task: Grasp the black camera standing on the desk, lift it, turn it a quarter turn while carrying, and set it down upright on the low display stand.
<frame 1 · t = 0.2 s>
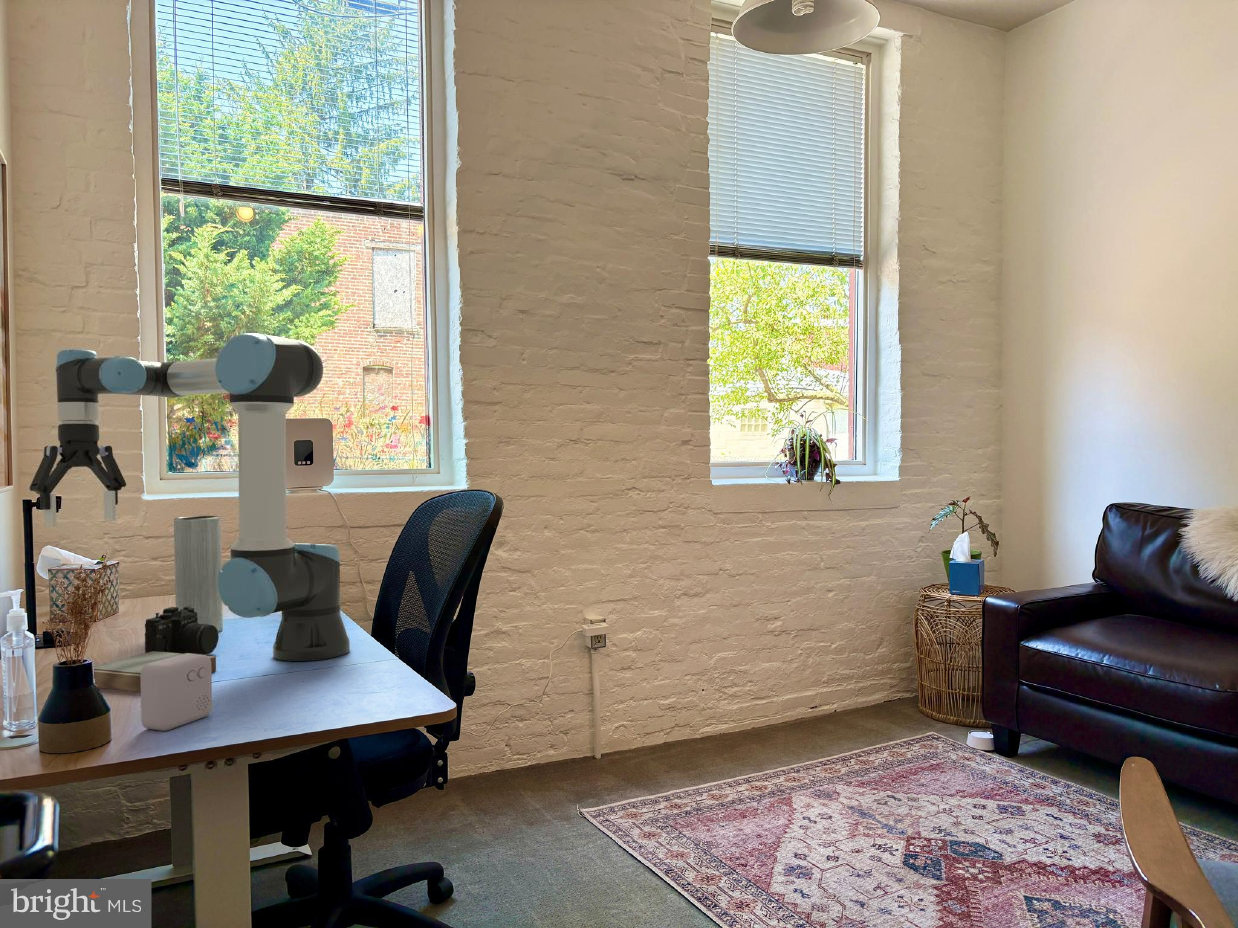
hand: (81, 523, 192), 28 cm above the table, fingers open, 13 cm apart
electronic device: (180, 724, 141), on the table
stand: (150, 677, 169), on the table
camera: (184, 657, 187), on the table
vase: (199, 632, 212), on the table
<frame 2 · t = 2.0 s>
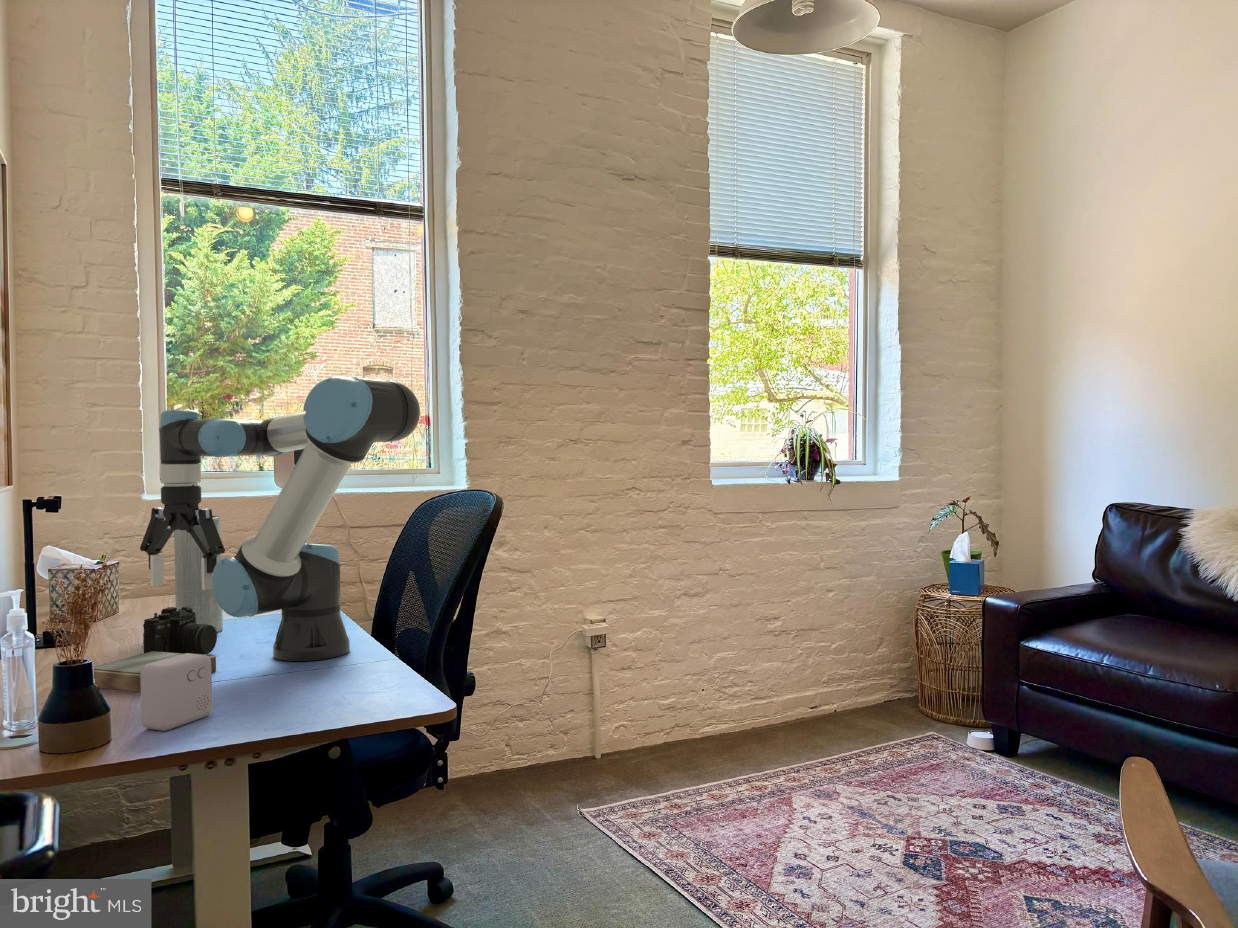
hand: (182, 587, 187), 14 cm above the table, fingers open, 13 cm apart
nothing on the table moved.
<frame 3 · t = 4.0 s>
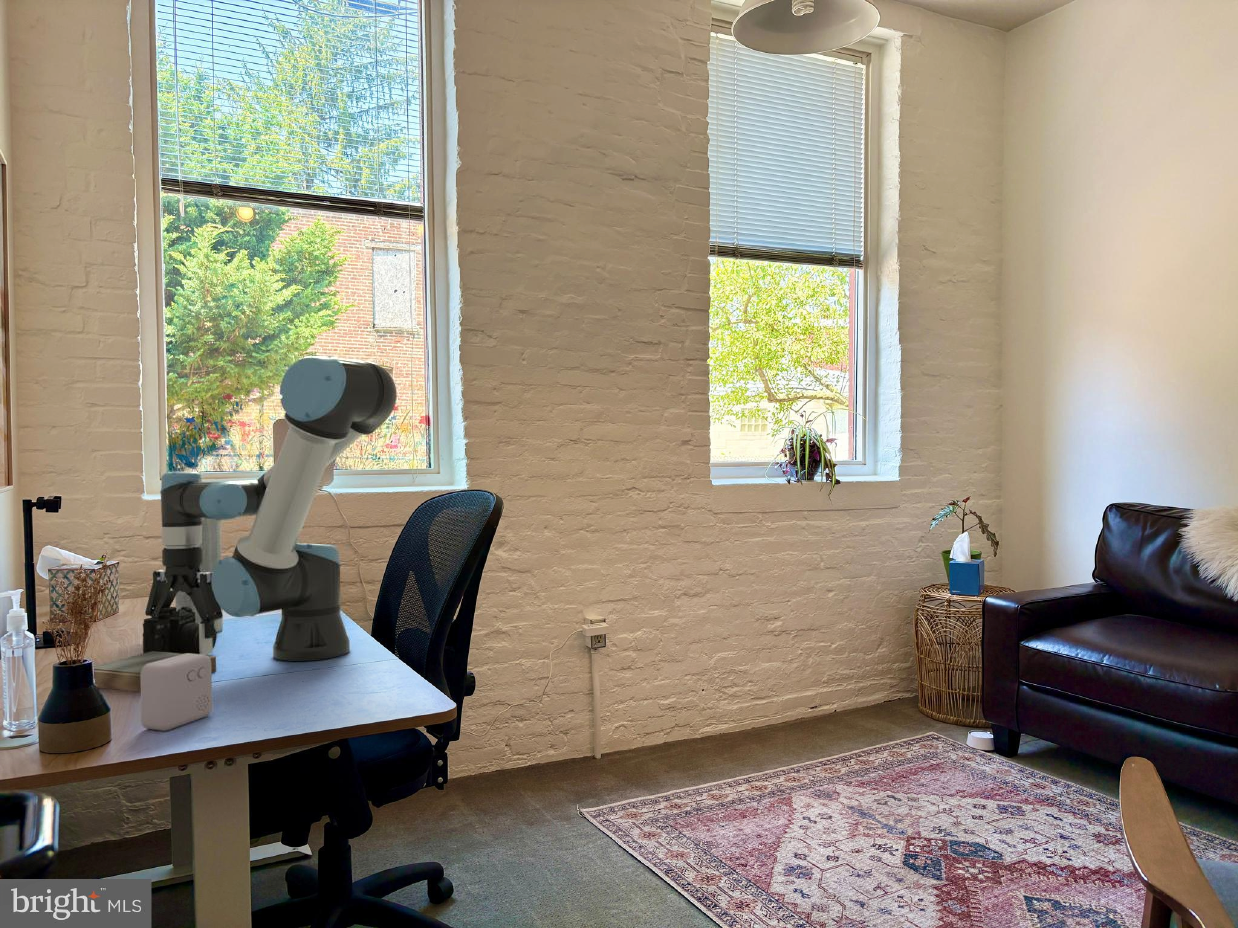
hand: (184, 651, 187), 1 cm above the table, fingers closed on camera, 11 cm apart
camera: (182, 657, 186), on the table, touching gripper
everything else where it was.
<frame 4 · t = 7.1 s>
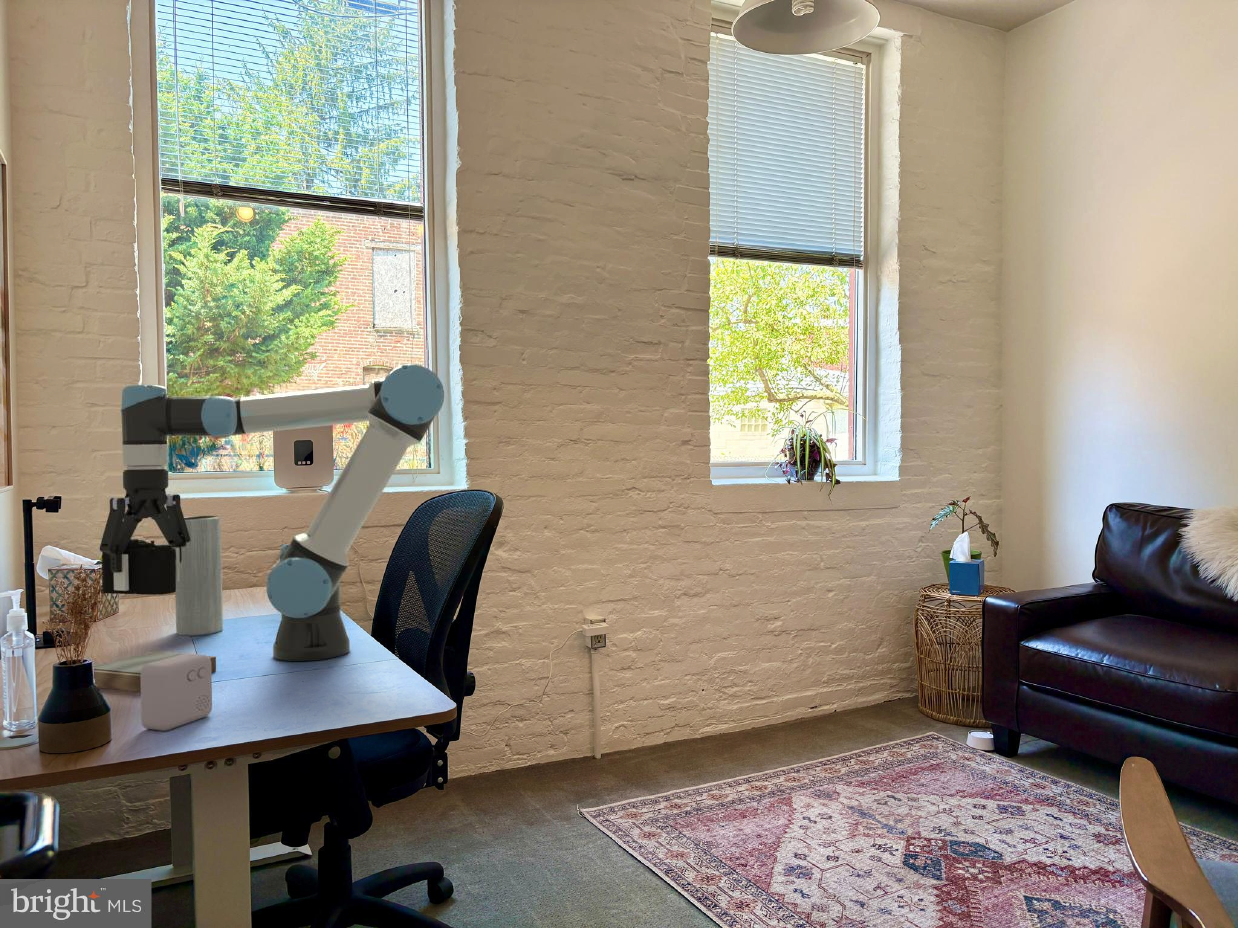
hand: (148, 585, 169), 17 cm above the table, fingers closed on camera, 11 cm apart
camera: (150, 591, 169), point 16 cm above the table, touching gripper
everything else where it was.
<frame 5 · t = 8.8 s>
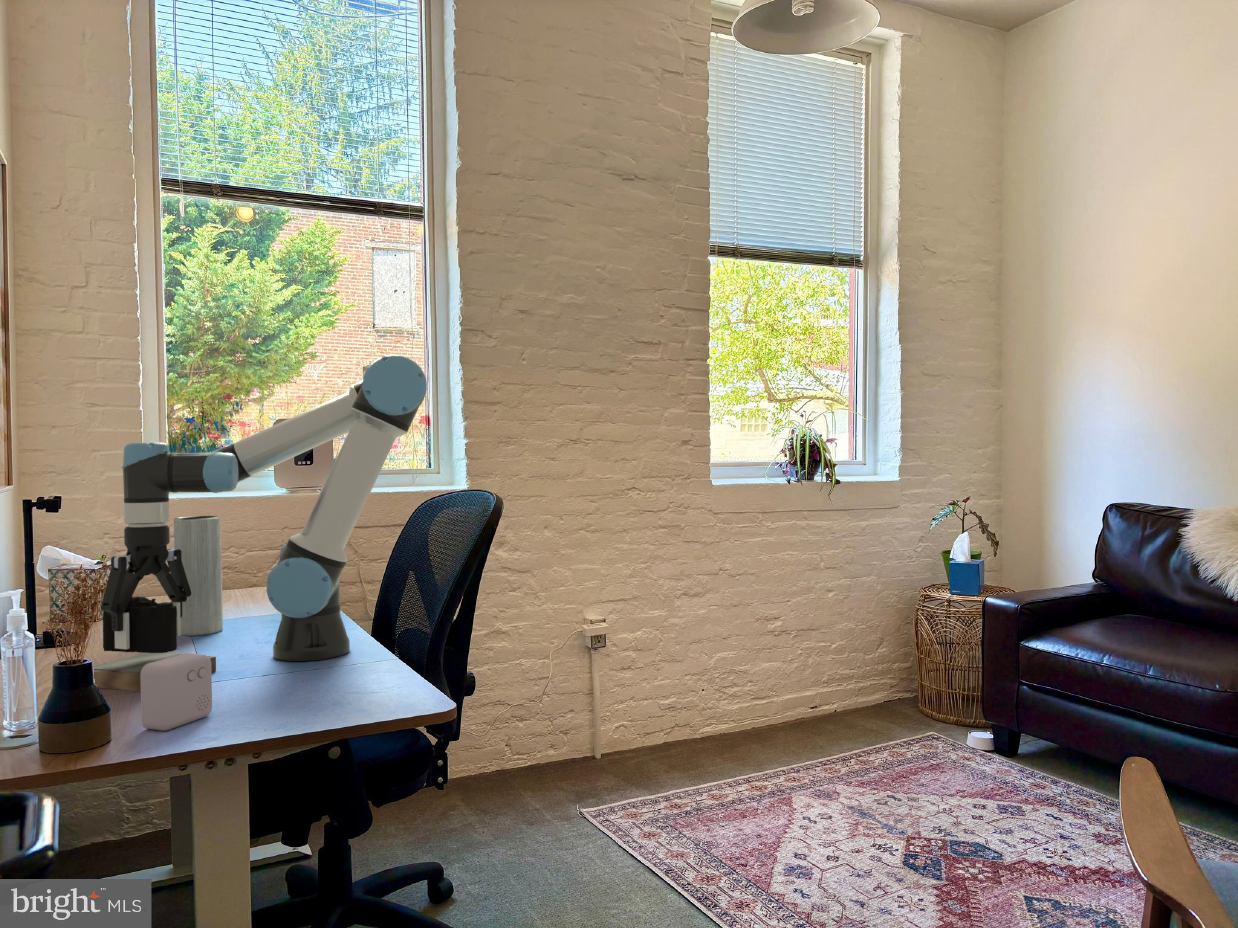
hand: (148, 641, 169), 7 cm above the table, fingers closed on camera, 11 cm apart
camera: (150, 647, 169), point 6 cm above the table, touching gripper
everything else where it was.
when the fingers open (5 cm above the table, at t = 10.2 s): camera drops 2 cm, resting on stand.
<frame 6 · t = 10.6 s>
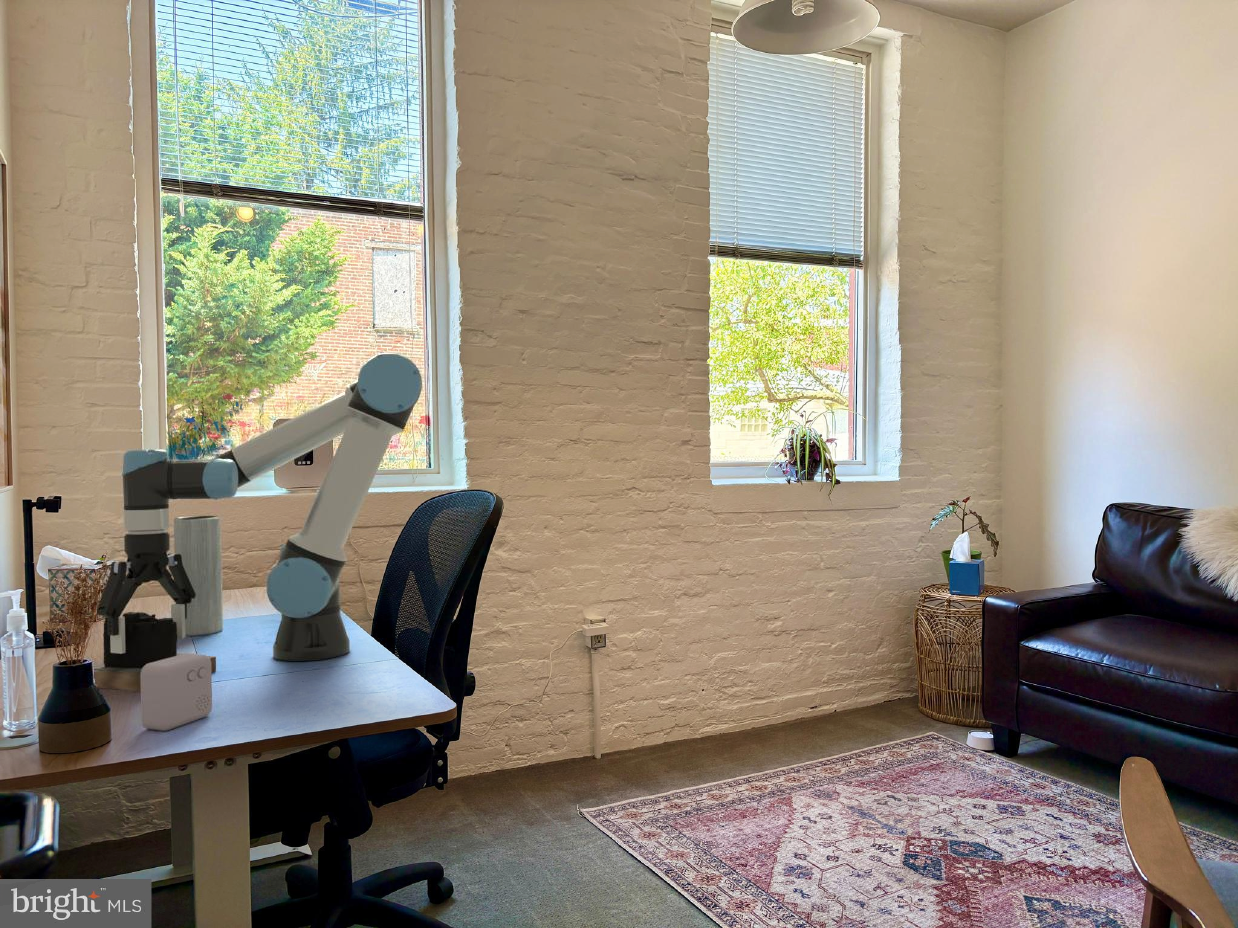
hand: (149, 644, 169), 6 cm above the table, fingers open, 13 cm apart
camera: (151, 663, 169), point 3 cm above the table, touching stand
everything else where it was.
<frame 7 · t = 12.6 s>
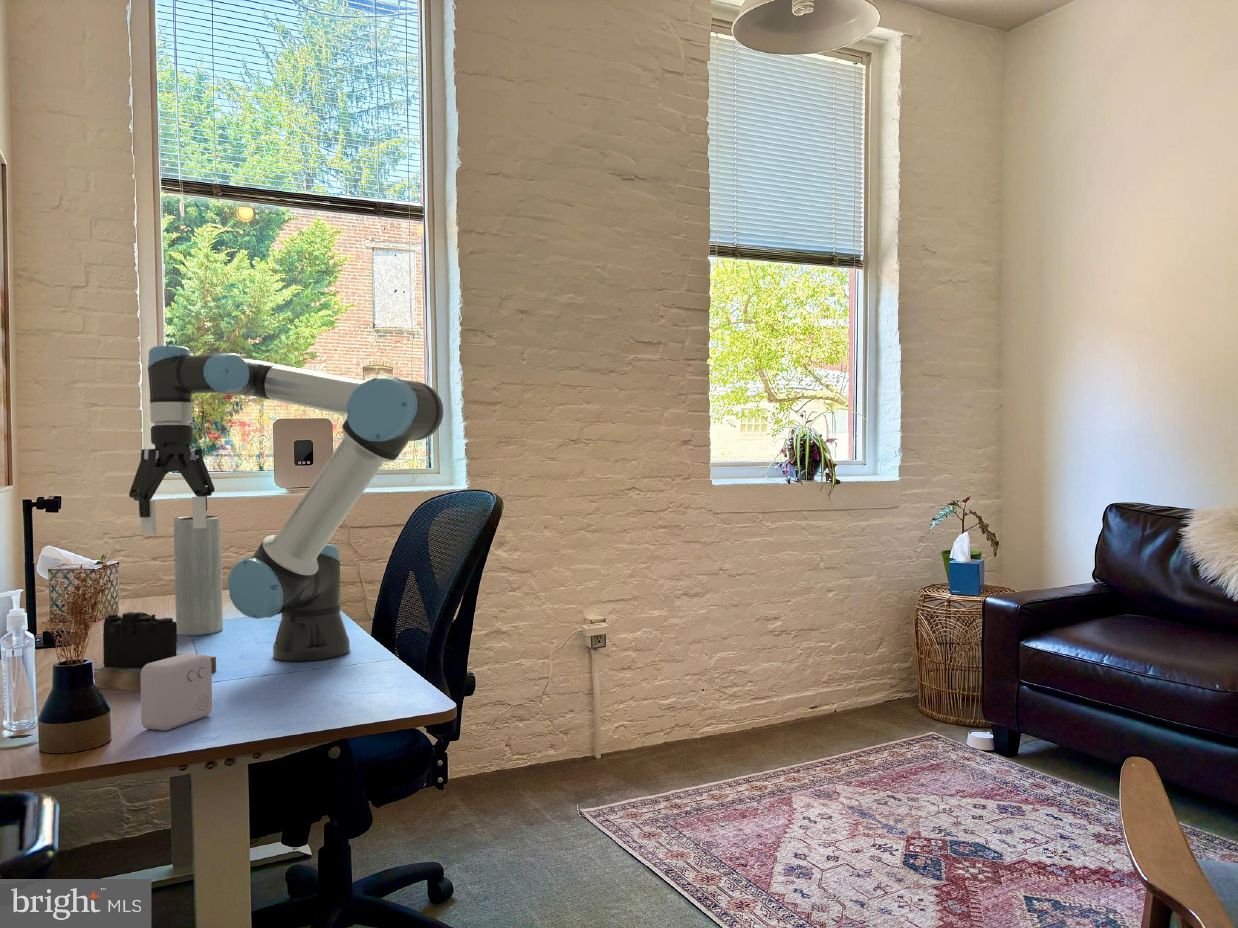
hand: (175, 531, 180), 27 cm above the table, fingers open, 13 cm apart
nothing on the table moved.
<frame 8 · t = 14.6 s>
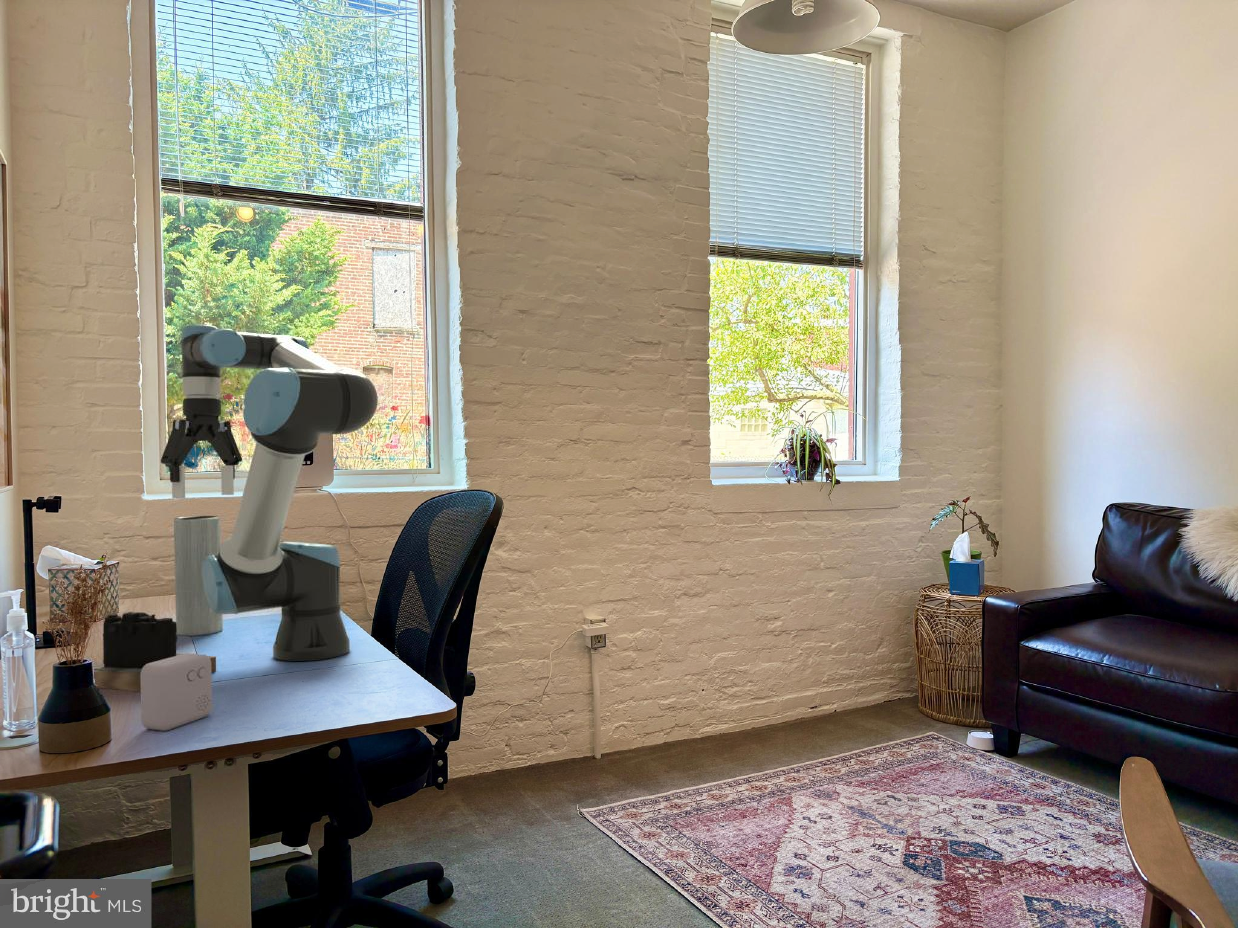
hand: (204, 496, 194), 33 cm above the table, fingers open, 13 cm apart
nothing on the table moved.
at the end: camera inside the target area on the stand (0.5 cm from its centre), point 2.8 cm above the stand's base; camera tilted 0°; the gripper is holding nothing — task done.
